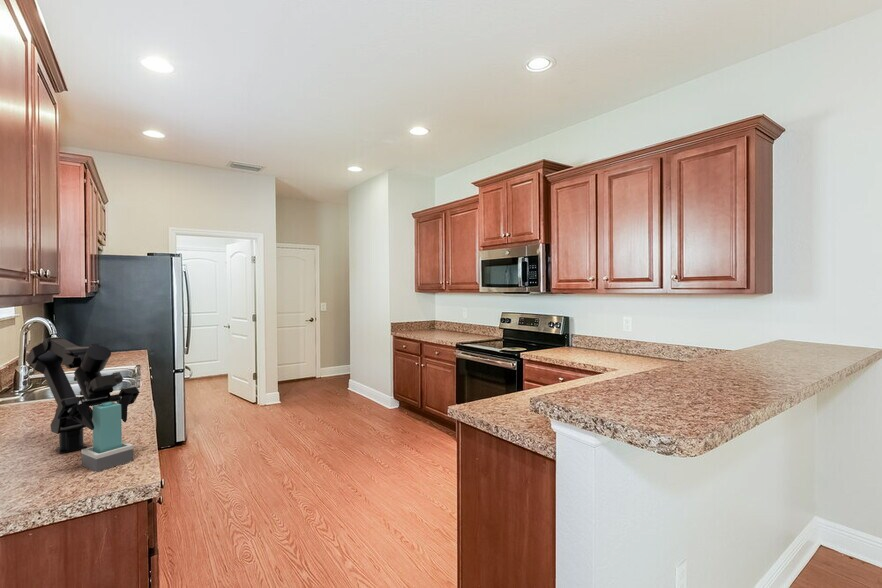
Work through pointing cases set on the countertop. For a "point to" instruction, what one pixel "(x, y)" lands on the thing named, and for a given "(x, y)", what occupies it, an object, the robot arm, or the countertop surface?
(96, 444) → the tall brick
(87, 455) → the tower base
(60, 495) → the countertop surface
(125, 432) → the countertop surface
